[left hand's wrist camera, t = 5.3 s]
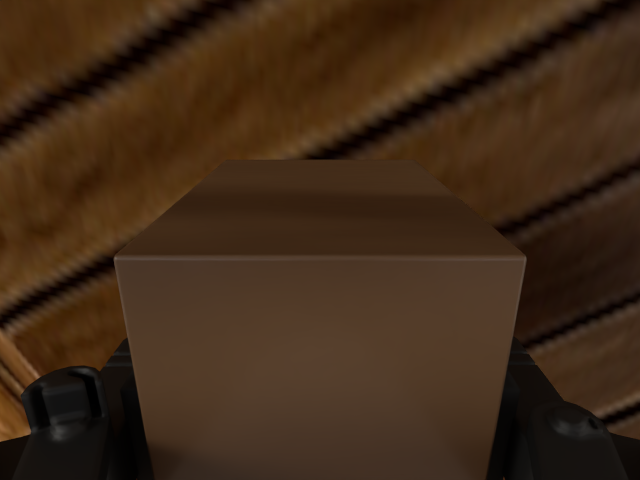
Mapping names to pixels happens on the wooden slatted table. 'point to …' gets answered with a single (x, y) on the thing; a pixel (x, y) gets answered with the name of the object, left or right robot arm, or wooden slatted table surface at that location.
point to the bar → (320, 325)
